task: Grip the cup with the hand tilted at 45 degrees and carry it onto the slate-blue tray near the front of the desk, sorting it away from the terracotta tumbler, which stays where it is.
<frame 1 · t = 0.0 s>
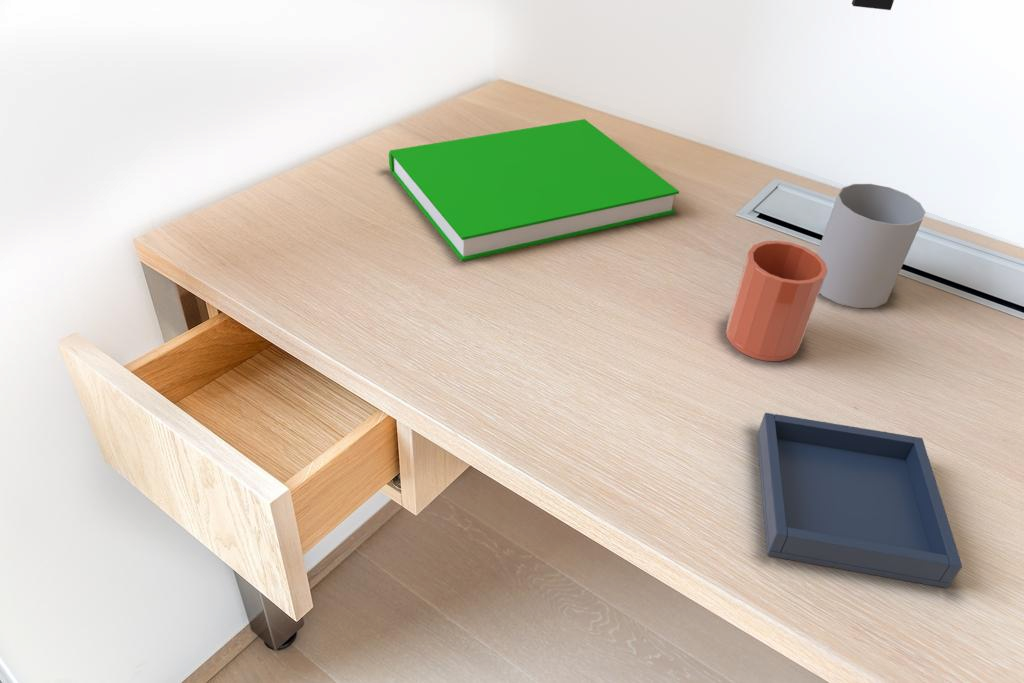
cup: (848, 286, 86), on the table
tumbler: (762, 338, 78), on the table
tray: (843, 504, 62), on the table
book: (528, 192, 99), on the table
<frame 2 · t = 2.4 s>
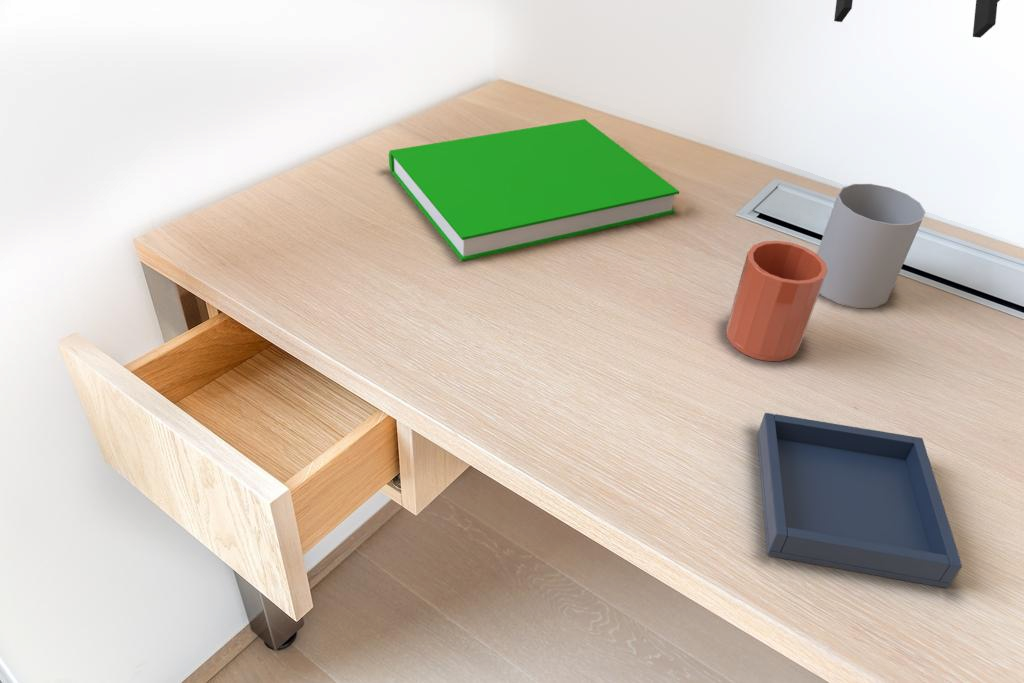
hand: (912, 23, 78), 25 cm above the table, tool tilted 45°, fingers open, 13 cm apart
nothing on the table moved.
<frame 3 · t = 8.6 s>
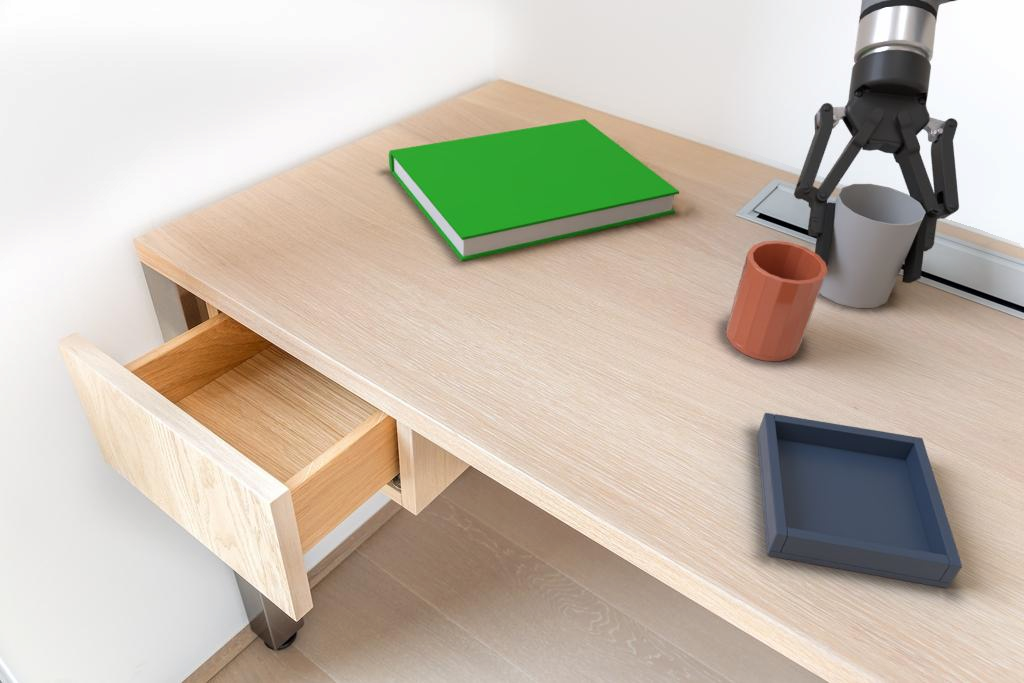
hand: (865, 273, 81), 4 cm above the table, tool tilted 45°, fingers closed on cup, 8 cm apart
cup: (848, 286, 86), on the table, touching gripper
everything else where it was.
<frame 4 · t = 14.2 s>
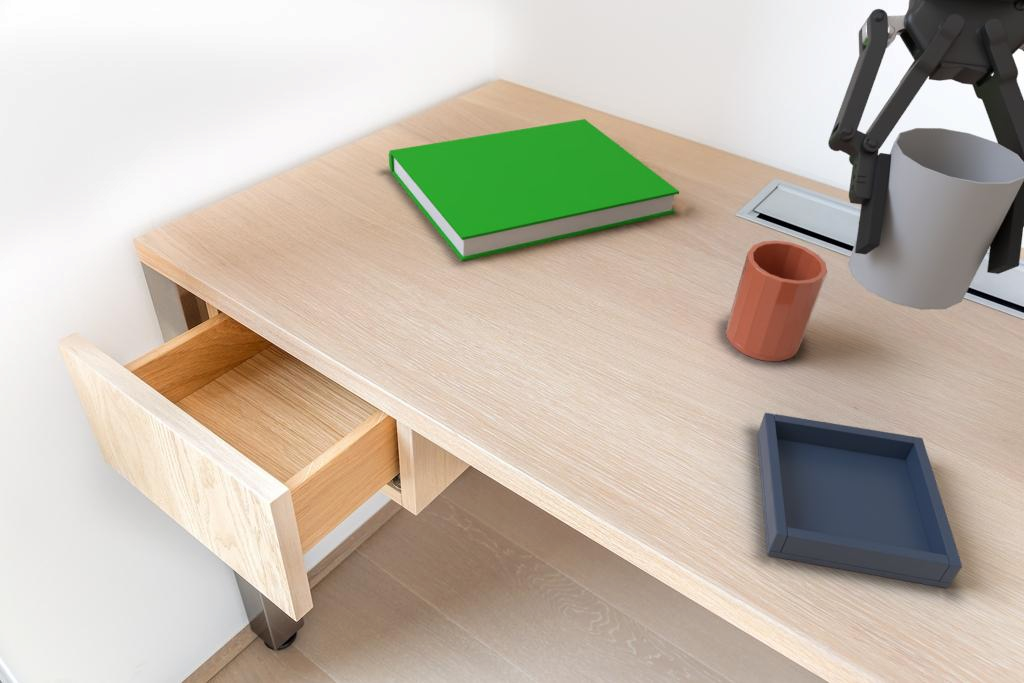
hand: (934, 258, 55), 19 cm above the table, tool tilted 45°, fingers closed on cup, 8 cm apart
cup: (904, 278, 60), point 15 cm above the table, touching gripper
everything else where it was.
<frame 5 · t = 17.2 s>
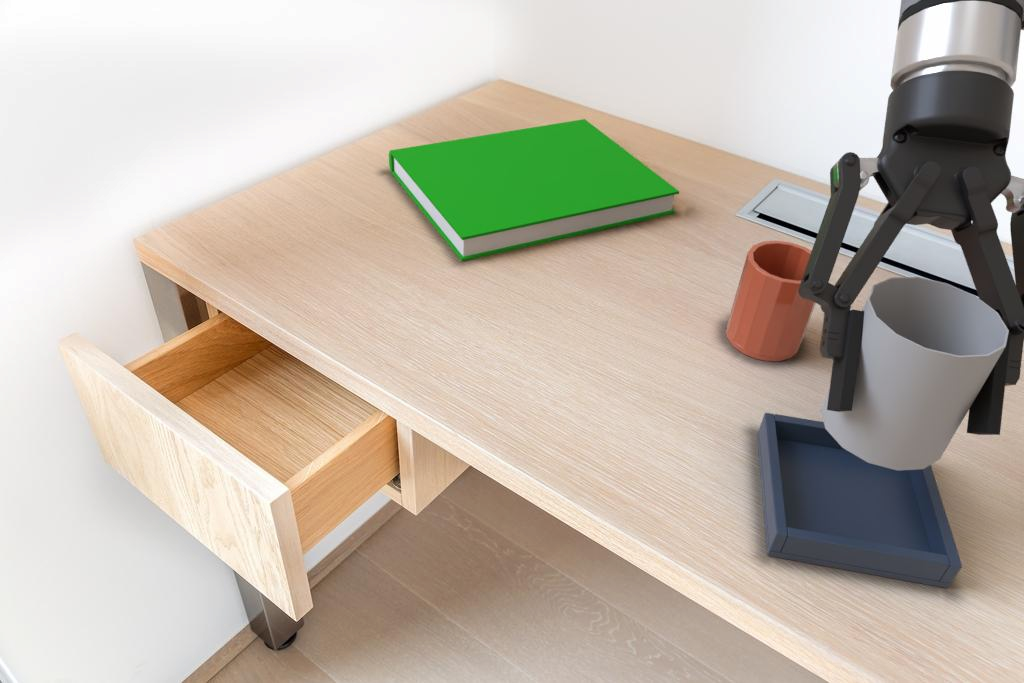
hand: (910, 421, 52), 12 cm above the table, tool tilted 45°, fingers closed on cup, 8 cm apart
cup: (880, 428, 57), point 8 cm above the table, touching gripper
everything else where it was.
when the fingers open (4 cm above the table, at t = 19.8 s): cup stays where it is, resting on tray.
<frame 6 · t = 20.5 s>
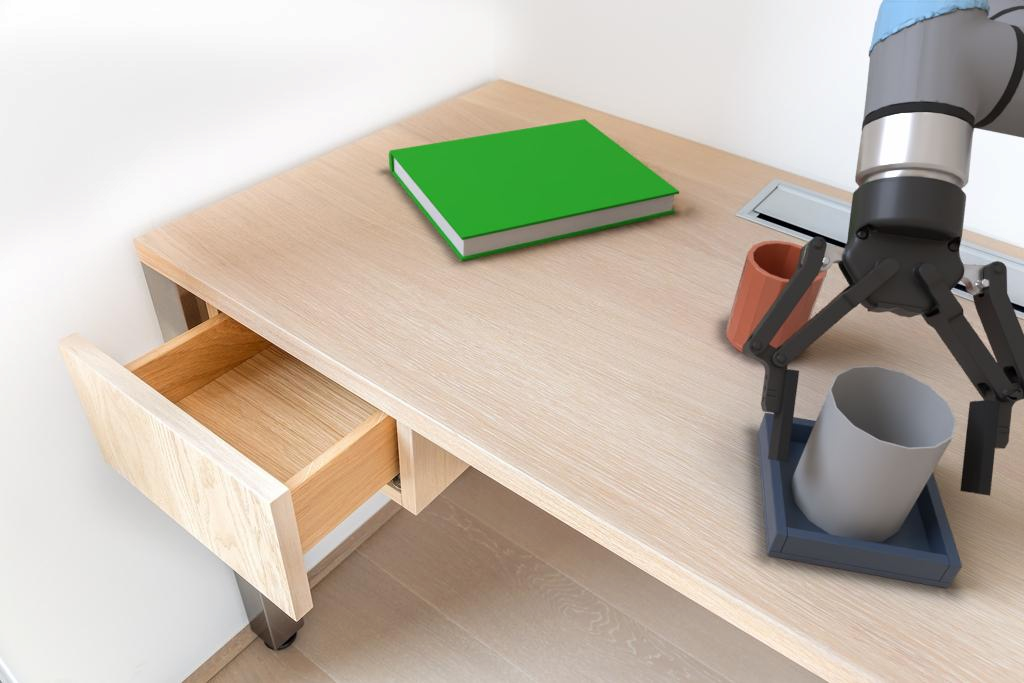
hand: (874, 477, 56), 6 cm above the table, tool tilted 45°, fingers open, 13 cm apart
cup: (844, 500, 62), resting on tray
everything else where it was.
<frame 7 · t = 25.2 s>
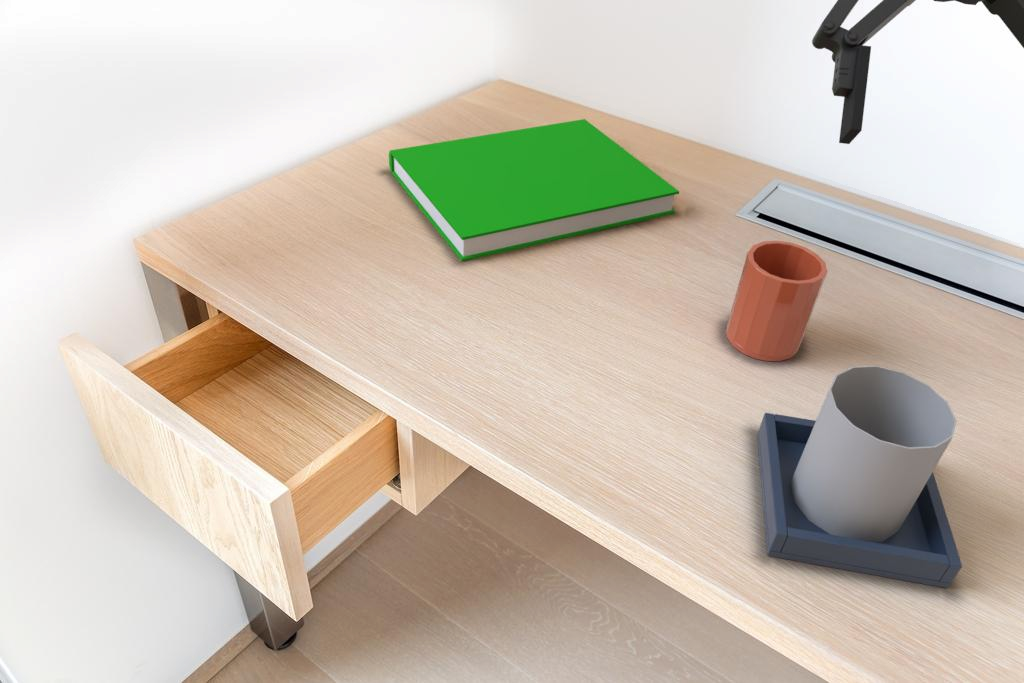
hand: (944, 148, 59), 23 cm above the table, tool tilted 45°, fingers open, 13 cm apart
nothing on the table moved.
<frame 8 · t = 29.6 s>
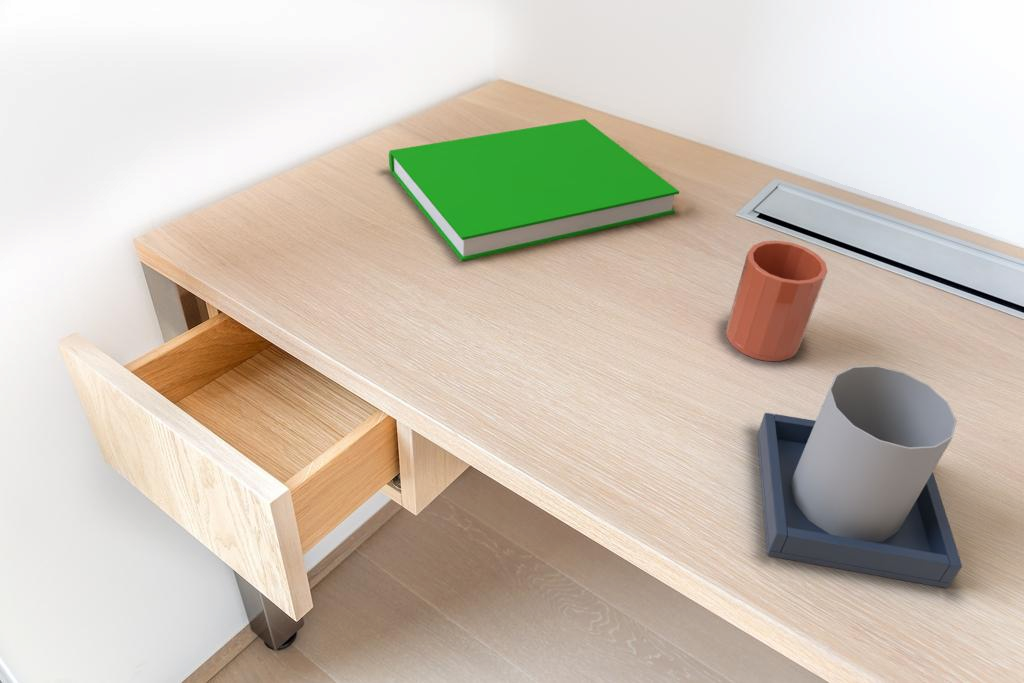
nothing on the table moved.
at the end: cup inside the target area in the tray (0.1 cm from its centre), point 0.4 cm above the tray's base; cup tilted 0°; tumbler moved 0.0 cm from its start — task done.
